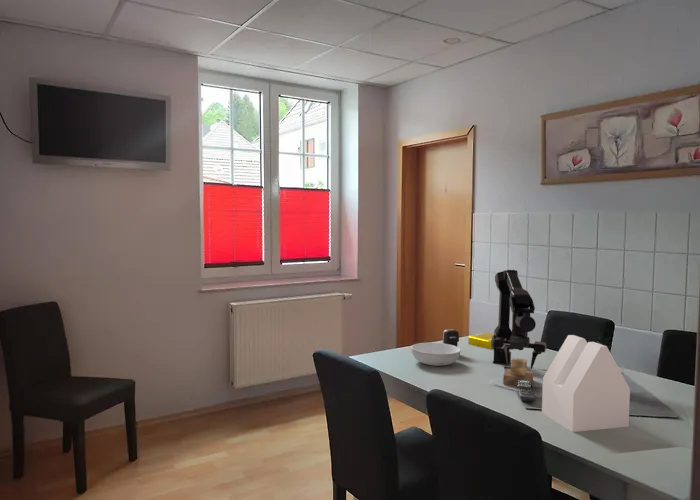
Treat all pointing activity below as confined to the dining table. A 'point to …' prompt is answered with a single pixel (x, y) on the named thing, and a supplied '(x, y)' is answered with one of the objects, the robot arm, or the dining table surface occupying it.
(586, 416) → the white slotted house block
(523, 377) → the walnut base
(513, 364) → the oak cube
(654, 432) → the dining table surface
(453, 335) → the battery charger
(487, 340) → the element tile
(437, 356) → the serving bowl
